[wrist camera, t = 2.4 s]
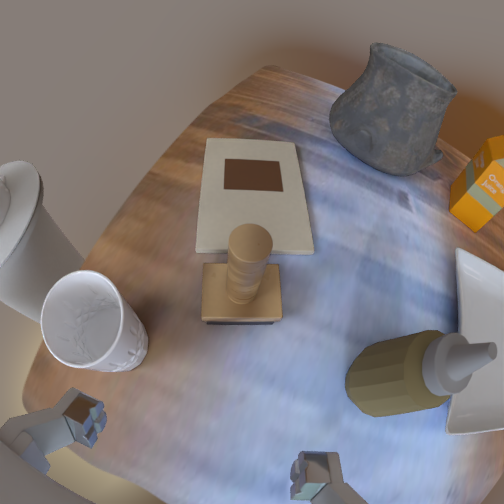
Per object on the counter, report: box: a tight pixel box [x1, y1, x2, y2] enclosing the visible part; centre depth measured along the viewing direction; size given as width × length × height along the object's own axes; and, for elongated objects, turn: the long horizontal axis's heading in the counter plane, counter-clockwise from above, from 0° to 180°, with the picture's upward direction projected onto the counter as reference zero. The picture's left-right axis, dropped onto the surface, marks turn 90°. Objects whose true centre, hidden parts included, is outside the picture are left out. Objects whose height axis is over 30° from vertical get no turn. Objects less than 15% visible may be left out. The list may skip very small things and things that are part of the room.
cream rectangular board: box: [196, 138, 314, 255], centre depth 37 cm, size 14×20×1 cm
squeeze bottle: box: [345, 330, 497, 417], centre depth 19 cm, size 8×8×18 cm
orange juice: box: [449, 135, 504, 233], centre depth 34 cm, size 8×9×20 cm
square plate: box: [445, 247, 504, 435], centre depth 27 cm, size 27×27×4 cm
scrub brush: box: [201, 224, 283, 325], centre depth 24 cm, size 8×6×13 cm
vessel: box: [329, 43, 457, 176], centre depth 37 cm, size 22×22×20 cm
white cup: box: [41, 270, 148, 372], centre depth 22 cm, size 8×8×10 cm
